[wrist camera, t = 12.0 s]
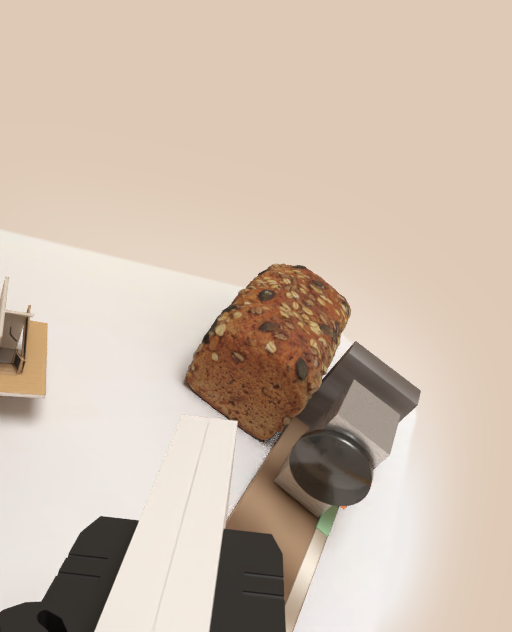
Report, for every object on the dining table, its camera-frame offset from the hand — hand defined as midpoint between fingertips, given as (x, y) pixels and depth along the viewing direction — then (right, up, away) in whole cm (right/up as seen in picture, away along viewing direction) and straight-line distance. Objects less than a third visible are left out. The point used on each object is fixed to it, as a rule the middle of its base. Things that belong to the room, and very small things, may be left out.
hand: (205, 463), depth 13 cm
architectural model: (-17, -1, +21) cm, 28 cm away
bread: (+1, -1, +37) cm, 37 cm away
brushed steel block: (+6, -10, +26) cm, 28 cm away
